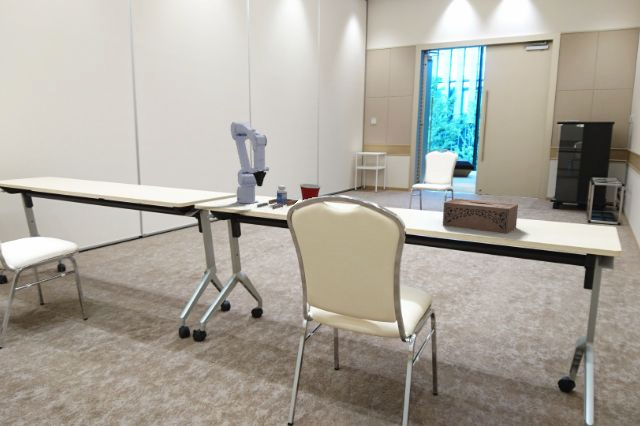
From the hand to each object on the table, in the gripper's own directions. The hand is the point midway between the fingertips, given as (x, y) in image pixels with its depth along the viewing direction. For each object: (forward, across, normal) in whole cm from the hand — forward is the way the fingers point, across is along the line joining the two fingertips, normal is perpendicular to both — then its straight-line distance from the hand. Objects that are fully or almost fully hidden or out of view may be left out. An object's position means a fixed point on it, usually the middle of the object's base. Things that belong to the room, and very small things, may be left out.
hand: (259, 186), depth 234 cm
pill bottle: (+11, +13, -5) cm, 17 cm away
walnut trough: (+10, +15, -5) cm, 19 cm away
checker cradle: (+10, +2, -5) cm, 12 cm away
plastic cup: (+11, +8, -25) cm, 28 cm away
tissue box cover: (+11, +4, -107) cm, 107 cm away
